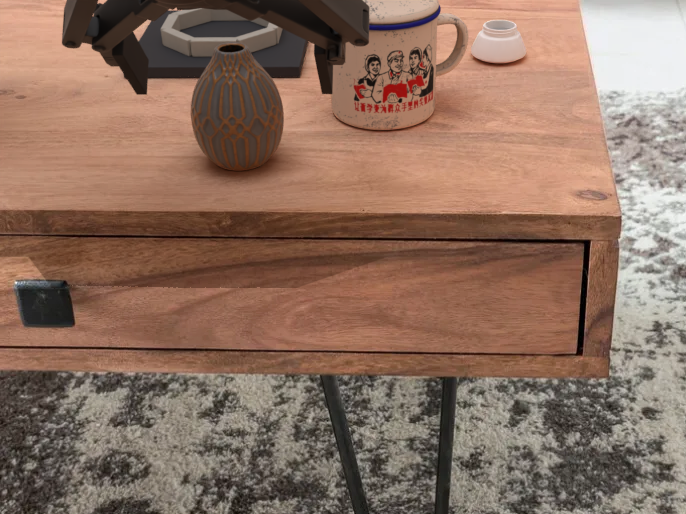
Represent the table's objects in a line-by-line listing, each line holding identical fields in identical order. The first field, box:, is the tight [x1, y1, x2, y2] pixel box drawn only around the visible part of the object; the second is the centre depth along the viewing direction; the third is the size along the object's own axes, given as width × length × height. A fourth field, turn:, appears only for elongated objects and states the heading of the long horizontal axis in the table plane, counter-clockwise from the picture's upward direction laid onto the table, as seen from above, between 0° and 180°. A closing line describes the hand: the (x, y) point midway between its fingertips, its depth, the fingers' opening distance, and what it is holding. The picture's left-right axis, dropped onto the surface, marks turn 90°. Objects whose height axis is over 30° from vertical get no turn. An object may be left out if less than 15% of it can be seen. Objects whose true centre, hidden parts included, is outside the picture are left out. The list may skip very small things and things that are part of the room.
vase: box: [190, 42, 285, 172], centre depth 78 cm, size 7×7×9 cm
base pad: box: [123, 8, 309, 79], centre depth 100 cm, size 16×16×2 cm
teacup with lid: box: [330, 0, 469, 131], centre depth 85 cm, size 12×9×12 cm
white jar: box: [470, 19, 527, 64], centre depth 96 cm, size 5×3×5 cm
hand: (234, 77), depth 77 cm, fingers open, 13 cm apart
